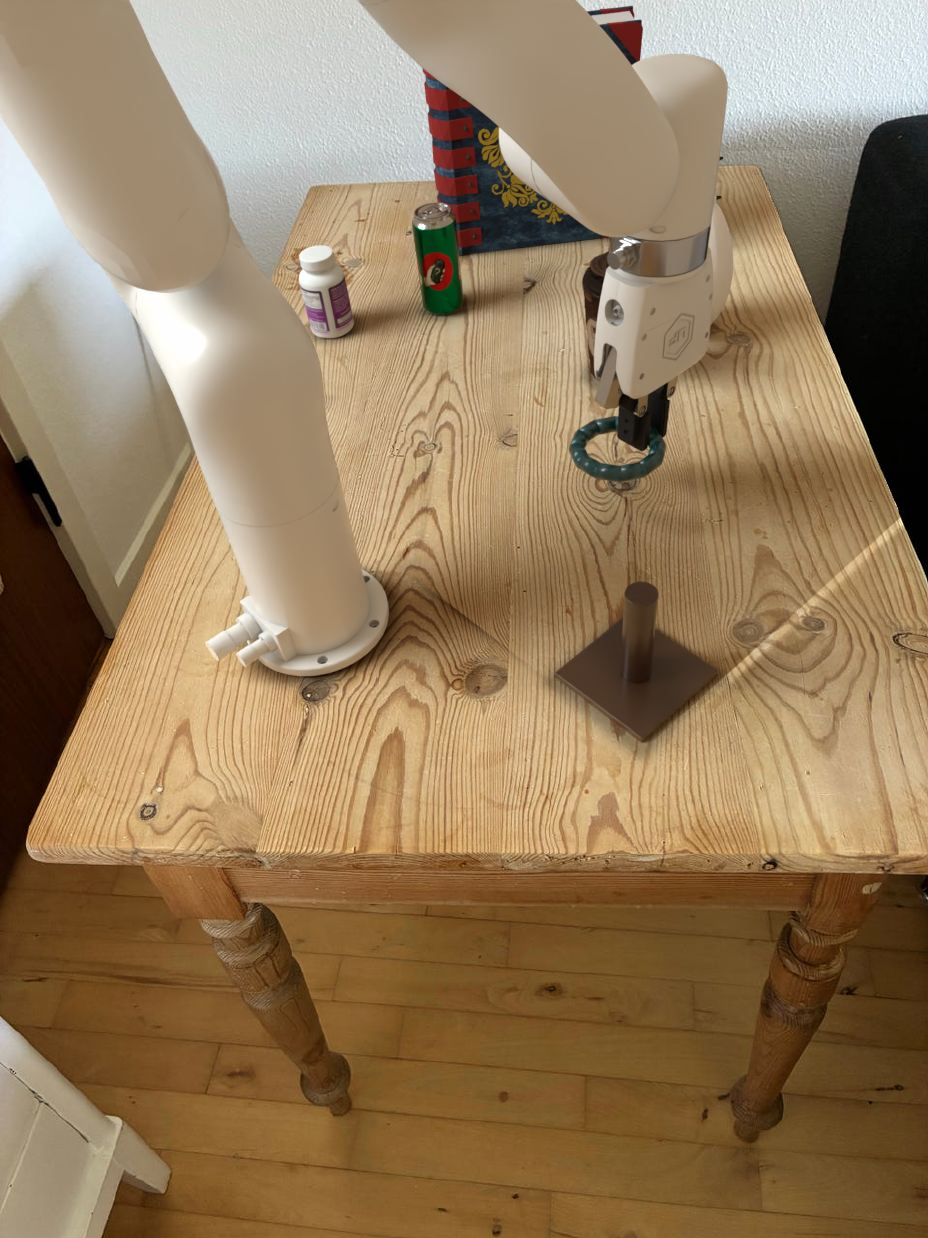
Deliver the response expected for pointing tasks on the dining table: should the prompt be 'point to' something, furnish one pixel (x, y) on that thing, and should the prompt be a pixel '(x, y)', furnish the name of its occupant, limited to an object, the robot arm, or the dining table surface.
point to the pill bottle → (325, 293)
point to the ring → (608, 470)
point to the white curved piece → (720, 260)
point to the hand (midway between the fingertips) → (641, 436)
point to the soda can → (438, 258)
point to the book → (502, 165)
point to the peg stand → (636, 668)
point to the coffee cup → (593, 299)
